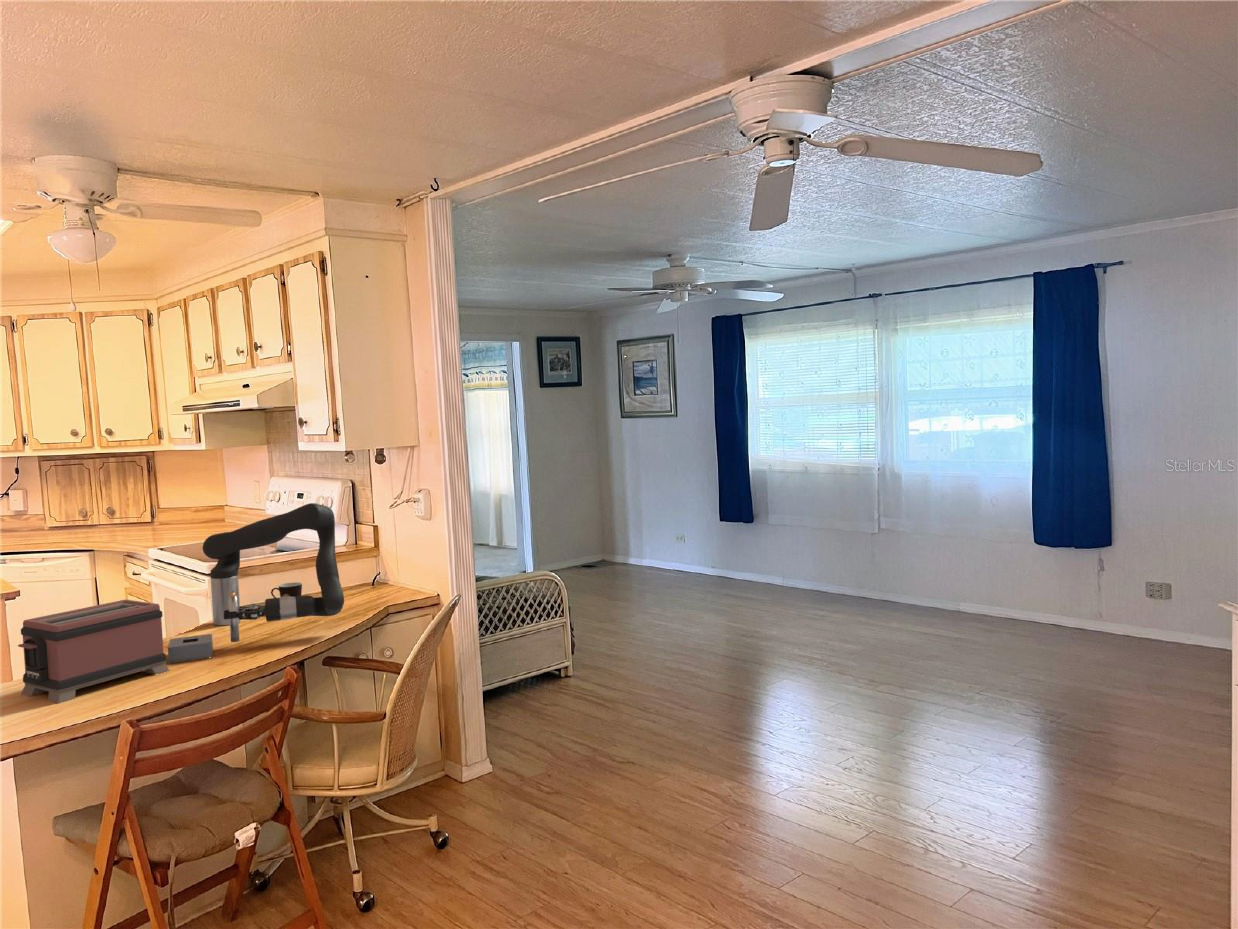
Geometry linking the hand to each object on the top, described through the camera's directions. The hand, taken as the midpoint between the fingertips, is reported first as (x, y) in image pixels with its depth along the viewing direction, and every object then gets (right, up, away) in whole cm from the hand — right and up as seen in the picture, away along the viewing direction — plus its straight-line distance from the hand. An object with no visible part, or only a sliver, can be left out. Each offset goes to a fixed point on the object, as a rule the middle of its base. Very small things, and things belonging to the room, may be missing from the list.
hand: (224, 615), depth 274 cm
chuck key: (+3, -9, +2) cm, 9 cm away
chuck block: (-7, -12, -7) cm, 15 cm away
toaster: (-22, -14, -33) cm, 42 cm away
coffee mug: (-1, -8, +56) cm, 57 cm away
